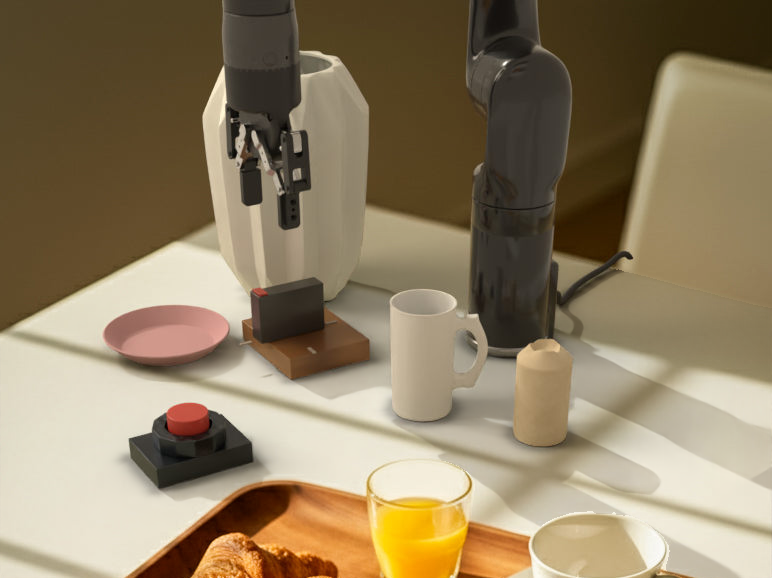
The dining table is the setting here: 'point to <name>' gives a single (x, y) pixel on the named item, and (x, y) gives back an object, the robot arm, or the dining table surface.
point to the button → (188, 419)
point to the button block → (189, 451)
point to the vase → (317, 206)
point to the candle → (542, 393)
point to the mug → (429, 353)
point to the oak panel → (313, 348)
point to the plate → (166, 334)
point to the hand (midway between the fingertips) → (270, 215)
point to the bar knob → (287, 309)
